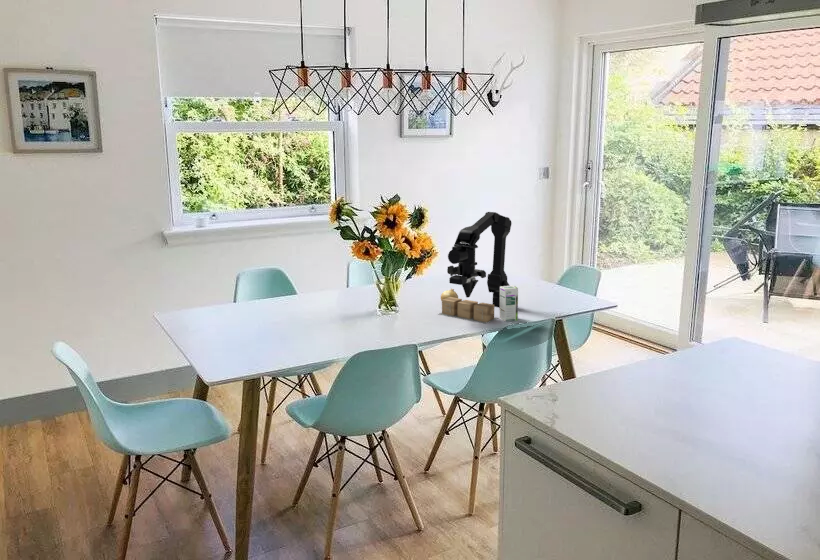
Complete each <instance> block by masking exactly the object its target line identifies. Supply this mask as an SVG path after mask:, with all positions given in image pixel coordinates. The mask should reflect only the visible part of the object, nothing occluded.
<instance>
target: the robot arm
mask: <svg viewBox="0 0 820 560" xmlns="http://www.w3.org/2000/svg"><path fill="white" fill-rule="evenodd" d="M512 224H513V223H512V220H511V219H510V217H508V216H504V215H501V214H499V213H498V212H494V211H486V212H485V213H484V215H483V216H482V217H481V218H479V219H478V220H477V221H476V222H474V223H473V224H472V225H470V226H465V227H464V228H462V229H460V230H459V232H458V234H457V237H456V240H455V242H454V244H453V246H452V247H451V250H449V252H448V253H447V259H448V261H449V263H451V264H452V265H449V266H447V269H446V271H447V274H448V275H450V277H449V280H448V281H449V282H448V283H449V284H453V285H458V286H462V288H463V291H464V294H465V297H466V298H470V297H471V295H472V293H473V291H474V288H475V287H476V285H477V283H478V282H479V280H478V279H477V278H476V277H480V278H481V279H485V278H487V280H486V285H487V289H488V293H492V304H493V305H494V308H495V307H496V308H498V309H500V286H511V285H510V284H509V282H508V275H507V274H506V271H505V262H506V261H505V259H506V247H507V246H506V245H507V243H506V242H507V241H506V240H507V238H508V236H509V234H510V232H511V228H512ZM489 227H490V231H491V233H492V234H493V236H494V241H493V259H492V269H491V272H490V273H488V274H487V272H486V271H485V270H484V269H483V270H482V269H476V266H477V265H478V262H477V261H476V249H478V248H479V246H478V245H477V243H478V242H479V240H480V239H481V235H482V233H484V232H485V231H486V230H487V229H488V228H489ZM454 265H456V266H454ZM457 265H458V266H457Z"/></svg>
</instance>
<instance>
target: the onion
mask: <svg viewBox="0 0 820 560" xmlns="http://www.w3.org/2000/svg"><path fill="white" fill-rule="evenodd" d="M449 297H453V298H459V295H458V293H457V292H456V291H455V289H454V288H450V289H447V290H444V291H443V292H442V293H441V295H440V301H441V302H442V300H443V299H446V298H449Z"/></svg>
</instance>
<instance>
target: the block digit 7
mask: <svg viewBox="0 0 820 560" xmlns="http://www.w3.org/2000/svg"><path fill="white" fill-rule="evenodd" d="M494 317H495V307H494V305H493V303H485V302H478V304H477V305H474V320H477V321H483V322H488V321H490V320H493V319H494Z"/></svg>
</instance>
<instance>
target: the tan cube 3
mask: <svg viewBox="0 0 820 560" xmlns="http://www.w3.org/2000/svg"><path fill="white" fill-rule="evenodd" d="M461 301H463V299H462V298H459V297H458V298H453V297H449V298H446V299H443V300H442V301H441V313H442V314H447V315H452V316H455V315H457V314H458V302H461Z"/></svg>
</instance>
